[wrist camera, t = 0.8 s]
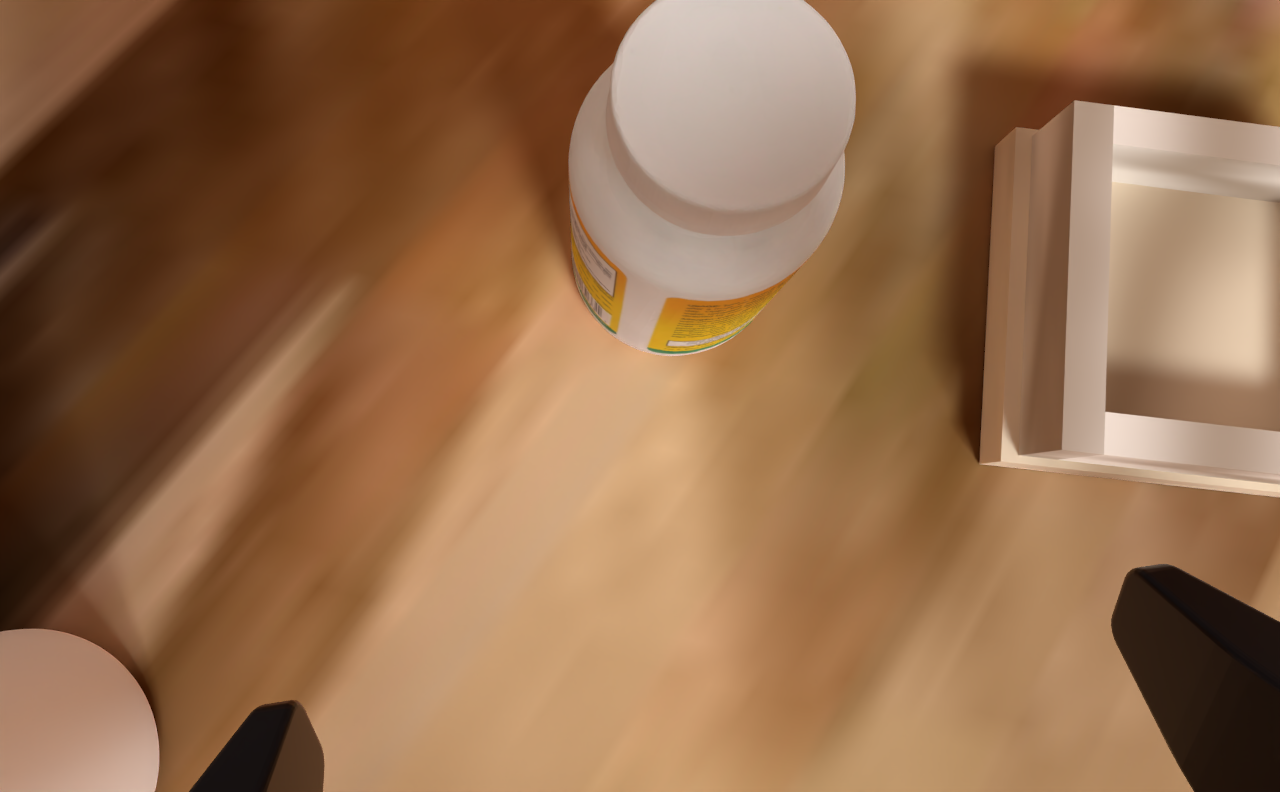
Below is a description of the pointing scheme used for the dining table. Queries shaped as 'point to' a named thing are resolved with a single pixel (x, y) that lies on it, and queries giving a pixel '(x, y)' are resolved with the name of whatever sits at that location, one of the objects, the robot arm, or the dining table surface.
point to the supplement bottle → (706, 168)
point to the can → (71, 718)
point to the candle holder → (1136, 300)
